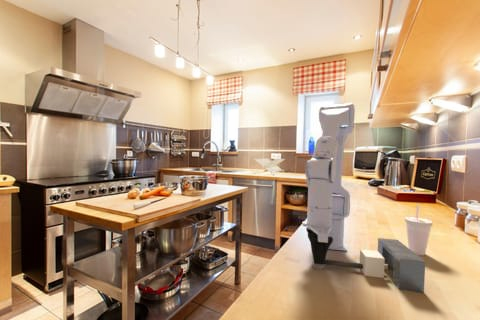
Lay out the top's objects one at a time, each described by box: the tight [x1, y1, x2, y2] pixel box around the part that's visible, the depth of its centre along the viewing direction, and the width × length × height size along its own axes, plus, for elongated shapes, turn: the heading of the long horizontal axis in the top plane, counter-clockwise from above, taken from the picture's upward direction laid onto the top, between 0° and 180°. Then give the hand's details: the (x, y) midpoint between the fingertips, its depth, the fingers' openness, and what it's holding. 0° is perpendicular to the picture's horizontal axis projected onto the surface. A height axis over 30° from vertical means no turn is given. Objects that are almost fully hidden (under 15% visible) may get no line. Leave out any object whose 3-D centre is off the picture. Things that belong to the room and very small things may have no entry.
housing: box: [377, 237, 426, 293], centre depth 52 cm, size 12×4×6 cm, turn 168°
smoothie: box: [404, 204, 433, 256], centre depth 65 cm, size 6×6×14 cm
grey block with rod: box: [311, 249, 389, 279], centre depth 54 cm, size 4×16×6 cm, turn 78°
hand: (317, 260), depth 56 cm, fingers closed on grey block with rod, 3 cm apart
